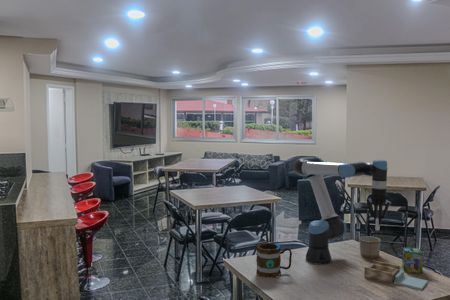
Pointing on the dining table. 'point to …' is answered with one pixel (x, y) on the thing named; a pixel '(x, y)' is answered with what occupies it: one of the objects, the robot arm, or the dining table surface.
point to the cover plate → (409, 281)
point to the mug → (270, 260)
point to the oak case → (382, 271)
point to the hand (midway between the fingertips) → (377, 229)
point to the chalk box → (412, 260)
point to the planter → (369, 246)
